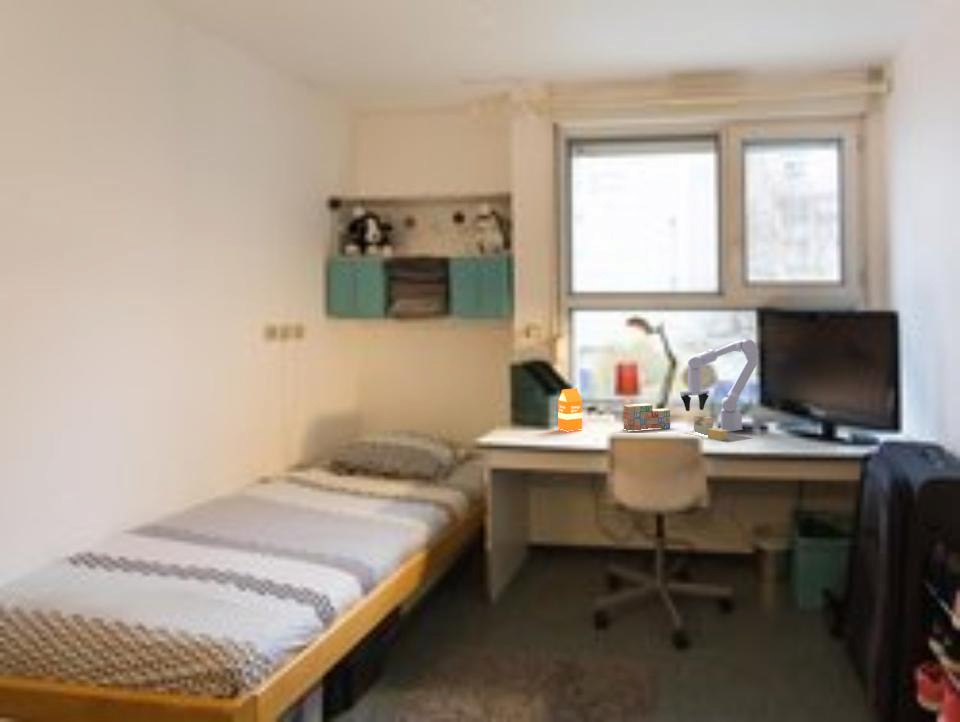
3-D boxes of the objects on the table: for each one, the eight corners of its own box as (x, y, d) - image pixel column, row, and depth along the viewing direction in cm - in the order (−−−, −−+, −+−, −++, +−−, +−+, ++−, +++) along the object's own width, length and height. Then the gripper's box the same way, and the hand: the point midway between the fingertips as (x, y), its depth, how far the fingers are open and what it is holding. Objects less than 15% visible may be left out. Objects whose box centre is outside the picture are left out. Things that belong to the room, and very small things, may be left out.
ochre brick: (707, 437, 398) (707, 428, 397) (714, 436, 400) (714, 427, 399) (720, 440, 391) (720, 431, 390) (727, 439, 393) (727, 430, 392)
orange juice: (558, 429, 428) (557, 388, 426) (573, 427, 432) (572, 387, 430) (567, 432, 421) (566, 390, 419) (582, 430, 425) (582, 389, 423)
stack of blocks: (664, 427, 429) (664, 402, 428) (670, 429, 423) (670, 403, 422) (623, 429, 424) (623, 404, 423) (628, 432, 418) (628, 406, 417)
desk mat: (710, 430, 417) (710, 429, 417) (753, 439, 394) (753, 438, 394) (684, 434, 409) (684, 433, 409) (727, 443, 386) (727, 442, 386)
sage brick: (693, 432, 409) (693, 424, 409) (700, 431, 411) (700, 423, 411) (706, 435, 403) (706, 426, 402) (712, 434, 405) (712, 425, 404)
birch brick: (694, 424, 409) (694, 415, 408) (700, 423, 411) (700, 415, 410) (706, 426, 402) (706, 418, 402) (713, 425, 404) (713, 417, 403)
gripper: (686, 383, 410) (686, 412, 412) (712, 381, 415) (712, 410, 417) (677, 382, 417) (677, 410, 418) (704, 380, 422) (704, 408, 423)
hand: (694, 410), depth 418 cm, fingers open, 7 cm apart
